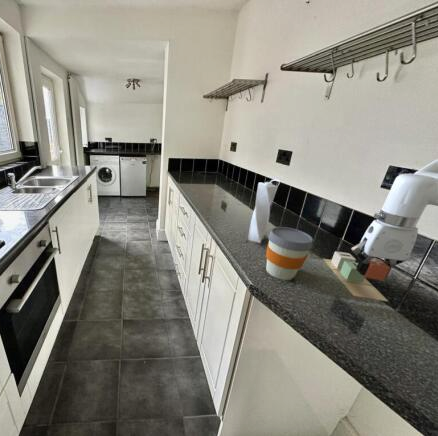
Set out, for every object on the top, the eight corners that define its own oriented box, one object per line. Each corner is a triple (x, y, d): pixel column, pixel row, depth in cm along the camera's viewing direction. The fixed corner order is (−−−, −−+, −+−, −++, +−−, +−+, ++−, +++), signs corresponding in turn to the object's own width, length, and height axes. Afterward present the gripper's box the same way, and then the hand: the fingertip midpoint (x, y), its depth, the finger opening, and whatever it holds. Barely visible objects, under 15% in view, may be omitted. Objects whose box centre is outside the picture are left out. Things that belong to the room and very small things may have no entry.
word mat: (348, 264, 89) (349, 262, 88) (387, 303, 69) (389, 301, 68) (321, 260, 90) (322, 258, 90) (352, 297, 71) (353, 295, 70)
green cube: (354, 274, 81) (359, 263, 79) (362, 282, 77) (368, 270, 75) (339, 272, 82) (344, 260, 80) (346, 279, 78) (351, 268, 76)
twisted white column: (266, 239, 106) (281, 178, 96) (263, 245, 100) (279, 182, 90) (248, 234, 110) (261, 176, 100) (244, 240, 104) (258, 179, 94)
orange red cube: (374, 271, 72) (380, 259, 71) (383, 280, 68) (390, 267, 66) (357, 269, 73) (362, 256, 72) (365, 277, 69) (372, 264, 67)
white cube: (344, 263, 87) (349, 253, 85) (351, 270, 83) (356, 259, 81) (330, 261, 88) (335, 251, 86) (336, 268, 84) (341, 257, 82)
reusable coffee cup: (268, 258, 90) (278, 223, 84) (305, 273, 82) (318, 235, 76) (254, 270, 82) (264, 233, 77) (293, 288, 74) (307, 247, 68)
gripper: (369, 220, 62) (344, 276, 69) (447, 229, 59) (413, 287, 66) (353, 211, 69) (332, 263, 76) (423, 218, 65) (394, 272, 72)
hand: (370, 273), depth 71 cm, fingers closed on orange red cube, 4 cm apart
